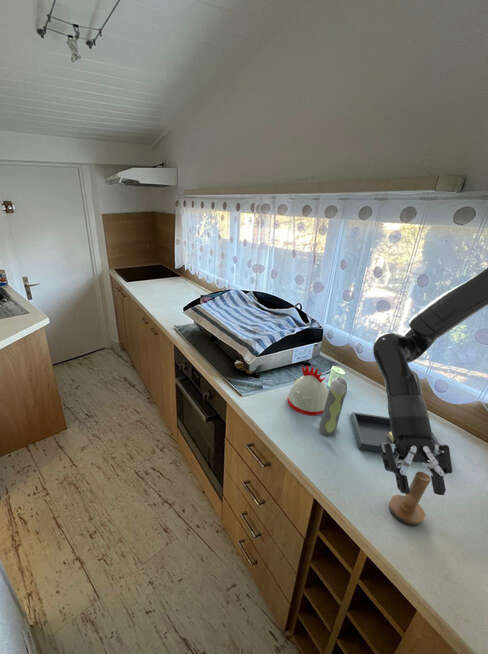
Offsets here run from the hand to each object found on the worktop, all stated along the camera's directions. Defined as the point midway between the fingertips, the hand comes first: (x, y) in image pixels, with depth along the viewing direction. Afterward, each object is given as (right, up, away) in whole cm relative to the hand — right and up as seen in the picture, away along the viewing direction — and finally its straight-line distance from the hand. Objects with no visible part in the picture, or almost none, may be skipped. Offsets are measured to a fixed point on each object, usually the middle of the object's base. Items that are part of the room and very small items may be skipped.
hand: (422, 493), depth 66 cm
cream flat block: (+13, +4, +27) cm, 31 cm away
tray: (+12, +3, +28) cm, 31 cm away
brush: (0, -8, +6) cm, 11 cm away
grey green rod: (-6, +5, +32) cm, 33 cm away
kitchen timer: (-7, +12, +45) cm, 47 cm away
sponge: (-23, +26, +71) cm, 79 cm away
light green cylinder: (+7, +17, +54) cm, 57 cm away
